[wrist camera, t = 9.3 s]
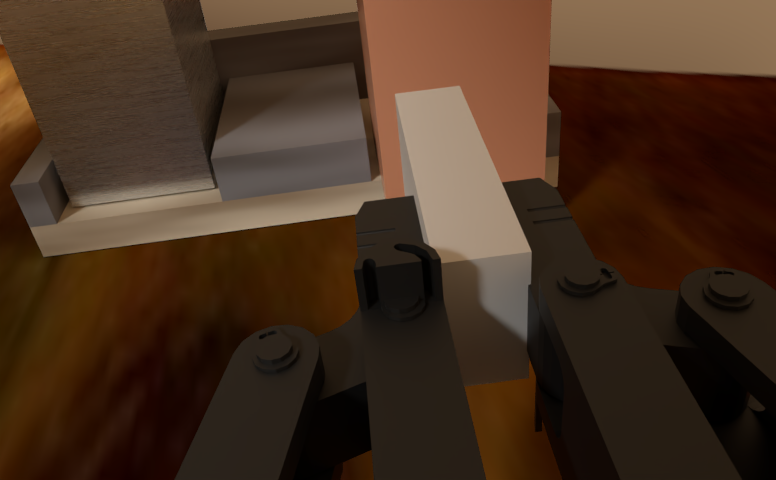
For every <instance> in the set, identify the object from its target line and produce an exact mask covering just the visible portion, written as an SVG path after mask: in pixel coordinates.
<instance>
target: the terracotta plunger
mask: <svg viewBox="0 0 776 480" xmlns="http://www.w3.org/2000/svg"><path fill="white" fill-rule="evenodd" d="M551 2H552V0H357V8H358V17H359V25H360V33H361V42H362V50H363V58H364V66H365V75H366V83H367V91H368V99H369V108H370V116H371V124H372V132H373V139H374V144H375V149H376V155H377V160H378V165H379V171H380V176H381V181H382V187H383V192H384V197H385V199H389V198H397V197H405V193H404V183H403V173H402V162H401V152H400V142H399V132H398V122H397V112H396V102H395V94H397V93H405V92H413V91H421V90H429V89H437V88H445V87H453V86H460V88H461V90H462V93H463V95H464V97H465V99H466V102H467V104H468V106H469V109H470V111H471V113H472V116H473V118H474V120H475V122H476V125H477V127H478V129H479V132H480V134H481V136H482V139H483V141H484V143H485V145H486V148H487V150H488V152H489V155H490V157H491V159H492V162H493V164H494V166H495V168H496V171H497V173H498V175H499V178H500V180H501V182H508V181H516V180H524V179H532V178H541V179H542V180H544V181H545V162H546V135H547V109H548V83H549V56H550V29H551V4H552V3H551Z"/></svg>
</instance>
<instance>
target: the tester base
mask: <svg viewBox="0 0 776 480" xmlns="http://www.w3.org/2000/svg"><path fill="white" fill-rule="evenodd" d="M208 35H209V39H210V43H211V47H212V51H213V55H214V59H215V63H216V67H217V71H218V75H219V79H220V83H221V88H222V92H223V96H224V103H223V108H222V112H221V116H220V121H219V125H218V129H217V134H216V138H215V142H214V146H213V151H212V155H211V162H212V165H213V169H214V173H215V176H216V185H215V188H211V189H203V190H196V191H188V192H181V193H174V194H166V195H159V196H151V197H144V198H137V199H129V200H122V201H114V202H107V203H100V204H92V205H85V206H77V207H72V204H71V202H70V199H69V197H68V195H67V192H66V190H65V188H64V185H63V183H62V181H61V178H60V176H59V174H58V171H57V169H56V166H55V164H54V162H53V159H52V157H51V155H50V152H49V150H48V148H47V145H46V143H45V141H44V138H42V140H41V141H40V143H39V144H38V146H37V147H36V149H35V150H34V151H33V153H32V154H31V156H30V157H29V159H28V160H27V162H26V163H25V164H24V166H23V167H22V169H21V170H20V172H19V173H18V175H17V176H16V178H15V179H14V180H13V182H12V183H11V185H10V187H11V189H12V191H13V193H14V195H15V197H16V200H17V202H18V204H19V206H20V208H21V210H22V212H23V214H24V216H25V218H26V221H27V223H28V225H29V227H30V229H31V231H32V233H33V235H34V237H35V240H36V242H37V244H38V246H39V248H40V250H41V252H42V254H43V256H44V257H48V256H55V255H62V254H70V253H77V252H84V251H91V250H99V249H106V248H113V247H121V246H128V245H135V244H143V243H150V242H157V241H164V240H172V239H179V238H186V237H194V236H201V235H208V234H216V233H223V232H230V231H238V230H245V229H252V228H259V227H267V226H274V225H281V224H289V223H296V222H303V221H311V220H318V219H325V218H332V217H340V216H347V215H354V214H357V213H358V211H359V210H360V208H361V206H362V205H363V203H364V202H366V201H374V200H381V199H385V197H384V192H383V187H382V181H381V176H380V171H379V165H378V160H377V155H376V149H375V144H374V139H373V132H372V124H371V116H370V108H369V99H368V91H367V83H366V75H365V66H364V58H363V50H362V42H361V33H360V25H359V17H358V12H351V13H343V14H335V15H328V16H320V17H313V18H304V19H297V20H289V21H281V22H274V23H266V24H258V25H251V26H242V27H235V28H227V29H219V30H211V31H208ZM560 126H561V111H560V110H559V108H558V107H557V105H556V104H555V103H554V101H553V100H552V99H551V97H550V96H549V95H548V109H547V135H546V162H545V182H547V183H548V184H550V185H551V186H553V187H557V186H558V166H559V146H560Z"/></svg>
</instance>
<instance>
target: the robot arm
mask: <svg viewBox="0 0 776 480" xmlns="http://www.w3.org/2000/svg"><path fill="white" fill-rule="evenodd" d="M395 102H396V112H397V122H398V132H399V142H400V152H401V162H402V173H403V183H404V193H405V197H397V198H389V199H381V200H374V201H366V202H364V203H363V205H362V206H361V208H360V210H359V211H358V213H357V215H356V216H355V222H356V234H357V247H358V258H357V259H356V263H355V267H354V274H355V280H356V286H357V293H358V299H359V305H360V306H359V308H358V310H357V312H356V313H355V314H354V315H353V317H352V318H351V319H350V320H349V321H347V322H346V323H345V324H343V325H342V326H340V327H338V328H336V329H334V330H332V331H330V332H328V333H325V334H322V335H320V336H317V337H315V336H314V334H312V333H310V332H309V331H307V330H306V329H304V328H302V327H297V326H292V325H280V326H271V327H268V328H266V329H263V330H260V331H258V332H255V333H254V334H252V335H251V336H249V337H248V338H247V339H245V340H244V341H242V343H241V344H240V345H239V347H238V348H237V349H236V351H235V352H234V354H233V356H232V358H231V360H230V362H229V364H228V366H227V369H226V371H225V373H224V375H223V377H222V379H221V381H220V384H219V386H218V388H217V390H216V392H215V394H214V396H213V399H212V401H211V403H210V405H209V407H208V409H207V412H206V414H205V416H204V418H203V420H202V422H201V424H200V427H199V429H198V431H197V433H196V435H195V437H194V439H193V442H192V444H191V446H190V448H189V450H188V452H187V454H186V457H185V459H184V461H183V463H182V465H181V467H180V469H179V472H178V474H177V476H176V478H175V480H340V479H341V475H342V471H343V462H345V461H347V460H349V459H351V458H354V457H356V456H358V455H361V454H363V453H365V452H367V451H370V450H372V460H373V473H374V480H486V477H485V473H484V468H483V464H482V460H481V456H480V451H479V447H478V443H477V439H476V435H475V430H474V426H473V422H472V418H471V413H470V409H469V405H468V401H467V397H466V392H465V388H464V386H471V385H479V384H486V383H494V382H501V381H509V380H517V379H524V378H529V358H530V361H531V364H532V366H533V369H534V372H535V375H536V393H535V432H539V431H542V420H543V423H544V426H545V429H546V432H547V435H548V438H549V441H550V444H551V447H552V450H553V453H554V456H555V459H556V462H557V465H558V468H559V470H560V473H561V476H562V479H563V480H776V291H775V290H774V289H773V288H771V287H770V286H769V285H767V284H766V283H765V282H763V281H762V280H760V279H758V278H756V277H754V276H753V275H751V274H749V273H746V272H742V271H739V270H736V269H732V268H721V267H710V268H703V269H698V270H696V271H694V272H692V273H690V274H688V275H686V276H685V278H684V279H683V281H682V282H681V284H680V288H679V291H674V290H663V289H651V288H644V287H638V286H634V285H630V284H627V282H626V281H625V279H624V277H623V276H622V275H621V274H620V273H619V272H618V271H617V270H616V269H615V268H614V267H612V266H610V265H608V264H606V263H604V262H603V261H600V260H596V259H595V257H594V255H593V253H592V251H591V250H590V248H589V246H588V244H587V242H586V241H585V239H584V237H583V235H582V233H581V232H580V230H579V228H578V226H577V224H576V223H575V221H574V220H572V215H571V214H570V212H569V210H568V208H567V207H565V203H564V201H563V199H562V197H561V196H560V194H559V192H558V190H557V189H556V188H554V187H553V186H551V185H550V184H548V183H547V182H545V181H544V180H542V179H541V178H532V179H524V180H516V181H508V182H501V180H500V178H499V175H498V173H497V171H496V168H495V166H494V164H493V162H492V159H491V157H490V155H489V152H488V150H487V148H486V145H485V143H484V141H483V139H482V136H481V134H480V132H479V129H478V127H477V125H476V122H475V120H474V118H473V116H472V113H471V111H470V109H469V106H468V104H467V102H466V99H465V97H464V95H463V93H462V90H461V88H460V86H453V87H445V88H437V89H429V90H421V91H413V92H405V93H397V94H395Z"/></svg>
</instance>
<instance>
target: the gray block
mask: <svg viewBox="0 0 776 480" xmlns="http://www.w3.org/2000/svg"><path fill="white" fill-rule="evenodd" d="M0 37H1V39H2V41H3V44H4V46H5V49H6V51H7V53H8V56H9V58H10V60H11V63H12V65H13V67H14V70H15V72H16V74H17V77H18V79H19V82H20V84H21V86H22V89H23V91H24V93H25V96H26V98H27V100H28V103H29V105H30V107H31V110H32V112H33V115H34V117H35V119H36V122H37V124H38V126H39V129H40V131H41V133H42V136H43V138H44V141H45V143H46V145H47V148H48V150H49V152H50V155H51V157H52V159H53V162H54V164H55V166H56V169H57V171H58V174H59V176H60V178H61V181H62V183H63V185H64V188H65V190H66V192H67V195H68V197H69V199H70V202H71V204H72V207H77V206H85V205H92V204H100V203H107V202H114V201H122V200H129V199H137V198H144V197H151V196H159V195H166V194H174V193H181V192H188V191H196V190H203V189H211V188H215V185H216V176H215V173H214V169H213V165H212V162H211V155H212V151H213V146H214V142H215V138H216V134H217V129H218V125H219V121H220V116H221V112H222V108H223V103H224V96H223V92H222V88H221V83H220V79H219V75H218V71H217V67H216V63H215V59H214V55H213V51H212V47H211V43H210V39H209V35H208V31H207V27H206V23H205V19H204V15H203V11H202V7H201V3H200V0H0Z"/></svg>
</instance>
